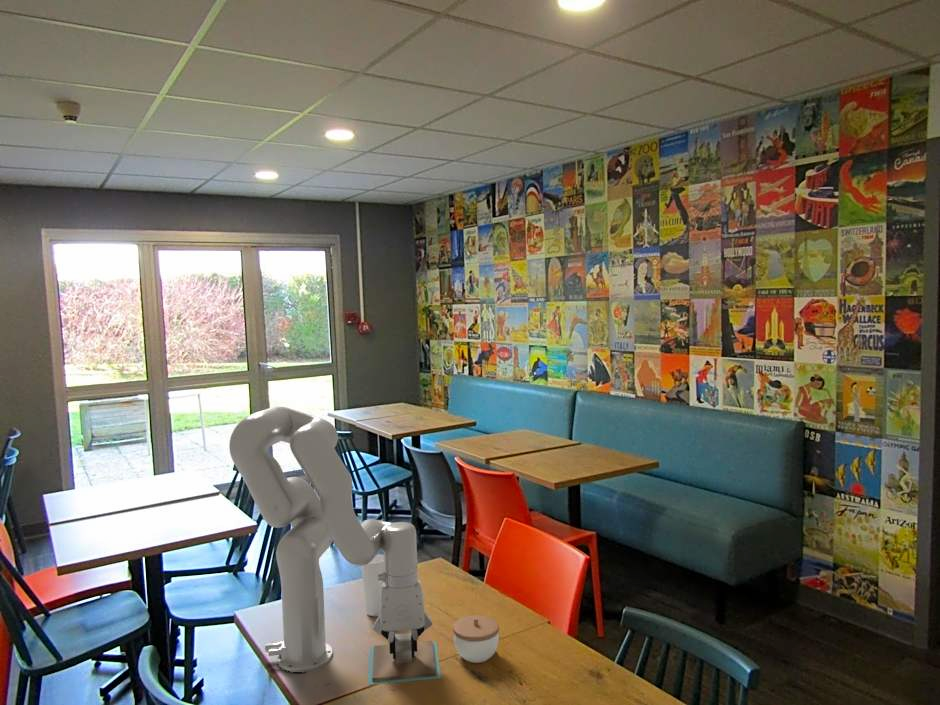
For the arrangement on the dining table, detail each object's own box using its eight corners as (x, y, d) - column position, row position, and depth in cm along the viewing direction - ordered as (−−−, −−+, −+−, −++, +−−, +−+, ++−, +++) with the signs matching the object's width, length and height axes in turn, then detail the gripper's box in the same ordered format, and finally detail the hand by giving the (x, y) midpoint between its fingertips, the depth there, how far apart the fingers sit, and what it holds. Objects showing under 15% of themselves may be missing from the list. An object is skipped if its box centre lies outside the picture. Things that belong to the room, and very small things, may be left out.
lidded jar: (473, 641, 159) (472, 604, 159) (508, 655, 153) (507, 616, 152) (444, 660, 151) (443, 621, 150) (480, 675, 144) (479, 634, 144)
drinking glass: (372, 621, 171) (370, 565, 170) (358, 612, 176) (356, 558, 175) (393, 612, 175) (391, 558, 174) (379, 604, 181) (378, 552, 180)
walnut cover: (372, 681, 142) (371, 656, 142) (374, 648, 156) (373, 625, 156) (436, 675, 144) (435, 650, 143) (432, 643, 158) (431, 620, 157)
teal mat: (367, 686, 141) (367, 684, 141) (370, 649, 157) (370, 647, 157) (441, 680, 143) (440, 678, 143) (436, 643, 159) (436, 641, 159)
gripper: (363, 587, 144) (366, 667, 145) (438, 581, 146) (440, 660, 147) (365, 573, 151) (368, 650, 152) (436, 568, 153) (438, 644, 154)
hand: (403, 654), depth 150 cm, fingers closed on walnut cover, 3 cm apart
